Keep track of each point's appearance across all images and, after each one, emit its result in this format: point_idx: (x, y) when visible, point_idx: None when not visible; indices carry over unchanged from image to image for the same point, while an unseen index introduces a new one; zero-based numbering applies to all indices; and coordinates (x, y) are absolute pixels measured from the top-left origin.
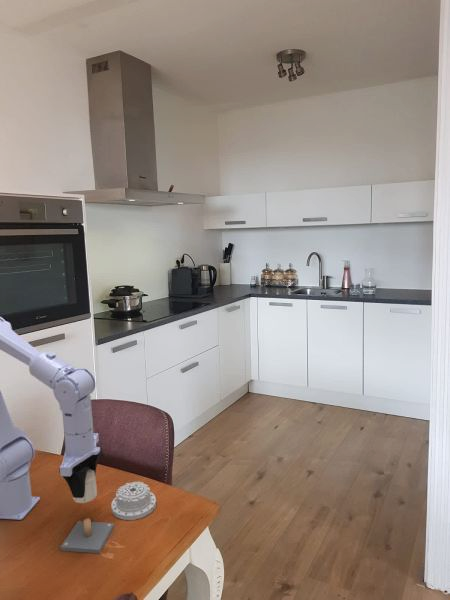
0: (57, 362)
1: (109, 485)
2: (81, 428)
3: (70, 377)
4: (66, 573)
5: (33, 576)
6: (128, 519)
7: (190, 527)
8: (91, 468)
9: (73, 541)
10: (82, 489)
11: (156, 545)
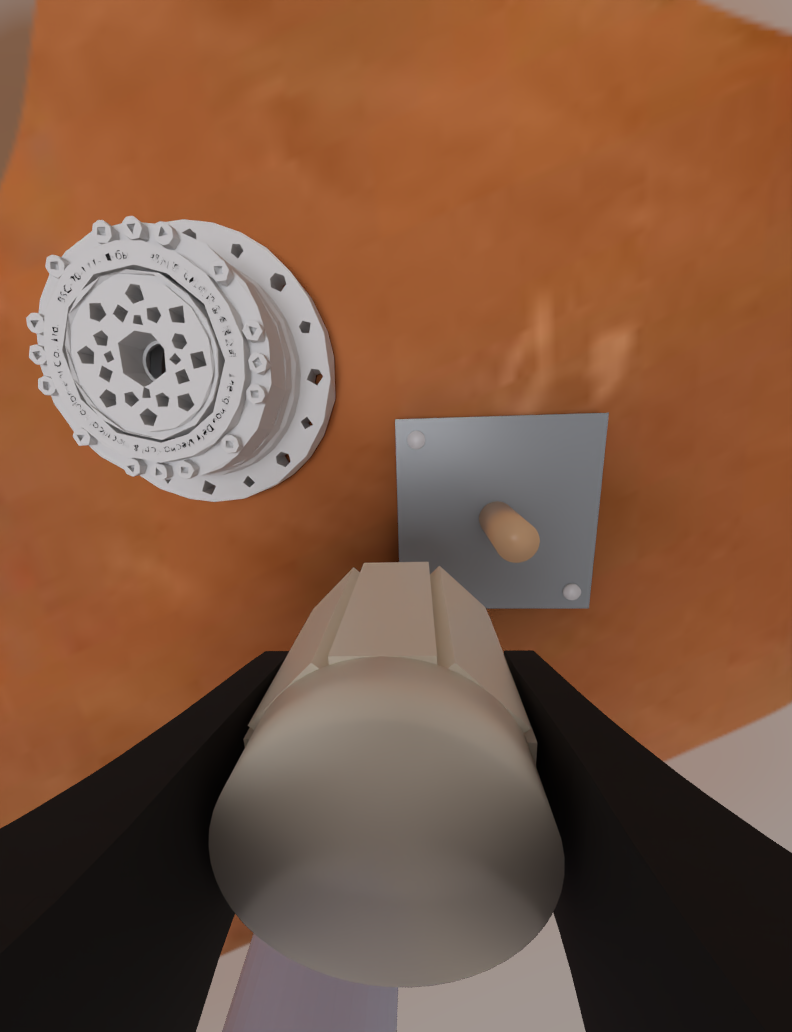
0: None
1: (84, 579)
2: None
3: None
4: (728, 511)
5: (735, 637)
6: (333, 360)
7: None
8: (188, 815)
9: (548, 567)
10: (604, 716)
11: (527, 89)
